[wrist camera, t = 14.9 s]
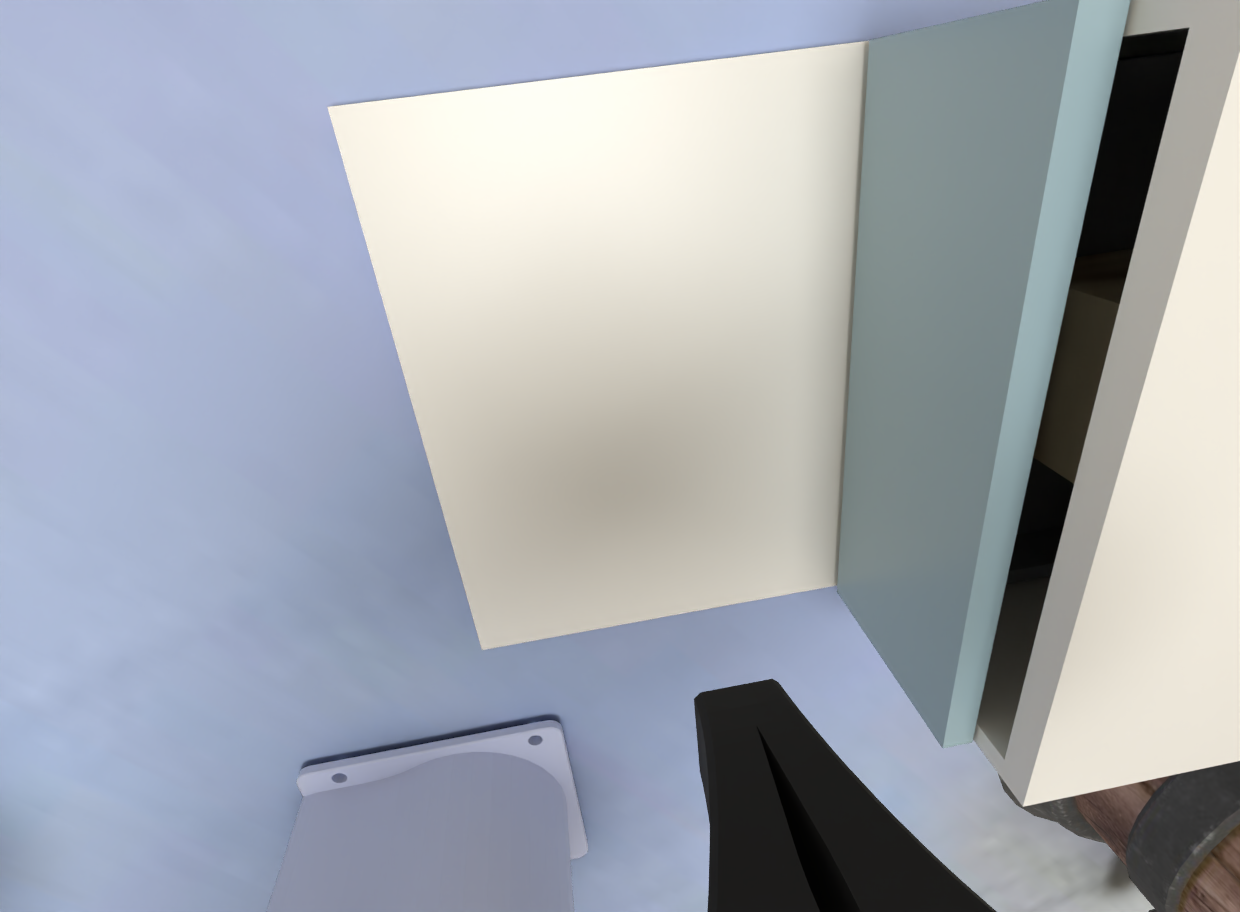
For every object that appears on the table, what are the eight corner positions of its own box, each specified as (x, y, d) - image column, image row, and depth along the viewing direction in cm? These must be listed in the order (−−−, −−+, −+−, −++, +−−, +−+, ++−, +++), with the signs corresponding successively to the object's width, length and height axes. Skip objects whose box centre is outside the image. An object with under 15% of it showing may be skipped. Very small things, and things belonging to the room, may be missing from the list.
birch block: (980, 422, 19) (1116, 511, 15) (1004, 268, 17) (1171, 320, 13) (1121, 398, 20) (1296, 478, 15) (1163, 243, 17) (1380, 285, 13)
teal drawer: (836, 591, 22) (942, 748, 17) (869, 40, 15) (1080, -8, 9) (1139, 536, 23) (1335, 668, 18) (1316, -15, 16) (1758, -88, 10)
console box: (482, 641, 22) (463, 924, 14) (332, 107, 15) (120, 94, 7) (1145, 521, 24) (1450, 716, 16) (1318, -13, 16) (2050, -135, 8)
